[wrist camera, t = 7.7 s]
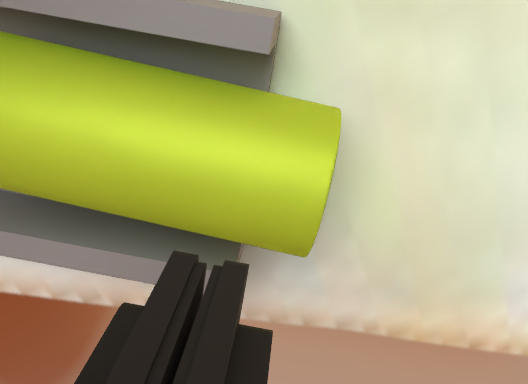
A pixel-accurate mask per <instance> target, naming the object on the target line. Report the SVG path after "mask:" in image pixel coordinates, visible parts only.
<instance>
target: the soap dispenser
mask: <svg viewBox="0 0 528 384" xmlns="http://www.w3.org/2000/svg"><path fill="white" fill-rule="evenodd" d="M340 130H341V111H340V109H339V108H336V107H331V106H327V105H323V104H318V103H314V102H309V101H305V100H301V99H296V98H292V97H287V96H283V95H279V94H274V93H270V92H266V91H261V90H257V89H252V88H248V87H244V86H239V85H235V84H230V83H226V82H222V81H217V80H213V79H208V78H204V77H200V76H195V75H191V74H186V73H182V72H178V71H173V70H169V69H165V68H160V67H156V66H151V65H147V64H143V63H138V62H134V61H129V60H125V59H121V58H116V57H112V56H107V55H103V54H99V53H94V52H90V51H86V50H81V49H77V48H72V47H68V46H64V45H59V44H55V43H50V42H46V41H42V40H37V39H33V38H28V37H24V36H20V35H15V34H11V33H6V32H2V31H0V188H1V189H5V190H10V191H14V192H19V193H23V194H27V195H32V196H36V197H41V198H45V199H49V200H54V201H58V202H63V203H67V204H71V205H76V206H80V207H85V208H89V209H93V210H98V211H102V212H107V213H111V214H115V215H120V216H124V217H129V218H133V219H138V220H142V221H146V222H151V223H155V224H160V225H164V226H168V227H173V228H177V229H182V230H186V231H190V232H195V233H199V234H204V235H208V236H212V237H217V238H221V239H226V240H230V241H234V242H239V243H243V244H248V245H252V246H256V247H261V248H265V249H270V250H274V251H278V252H283V253H287V254H292V255H296V256H300V257H306V256H307V255H308V254H309V252H310V250H311V248H312V245H313V243H314V240H315V238H316V235H317V232H318V229H319V226H320V223H321V219H322V216H323V212H324V209H325V205H326V201H327V197H328V193H329V189H330V185H331V181H332V176H333V171H334V167H335V162H336V156H337V151H338V145H339V138H340Z"/></svg>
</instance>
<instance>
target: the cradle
mask: <svg viewBox="0 0 528 384" xmlns="http://www.w3.org/2000/svg"><path fill="white" fill-rule="evenodd" d="M280 18H281V12H280V11H275V10H269V9H264V8H258V7H252V6H247V5H241V4H236V3H230V2H224V1H219V0H0V31H2V32H6V33H11V34H15V35H20V36H24V37H28V38H33V39H37V40H42V41H46V42H50V43H55V44H59V45H64V46H68V47H72V48H77V49H81V50H86V51H90V52H94V53H99V54H103V55H107V56H112V57H116V58H121V59H125V60H129V61H134V62H138V63H143V64H147V65H151V66H156V67H160V68H165V69H169V70H173V71H178V72H182V73H186V74H191V75H195V76H200V77H204V78H208V79H213V80H217V81H222V82H226V83H230V84H235V85H239V86H244V87H248V88H252V89H257V90H261V91H266V92H269V87H270V81H271V75H272V69H273V63H274V57H275V51H276V45H277V39H278V33H279V27H280V26H279V24H280ZM242 247H243V243H239V242H234V241H230V240H226V239H221V238H217V237H212V236H208V235H204V234H199V233H195V232H190V231H186V230H182V229H177V228H173V227H168V226H164V225H160V224H155V223H151V222H146V221H142V220H138V219H133V218H129V217H124V216H120V215H115V214H111V213H107V212H102V211H98V210H93V209H89V208H85V207H80V206H76V205H71V204H67V203H63V202H58V201H54V200H49V199H45V198H41V197H36V196H32V195H27V194H23V193H19V192H14V191H10V190H5V189H1V188H0V255H1V256H7V257H12V258H17V259H23V260H28V261H33V262H38V263H44V264H49V265H54V266H60V267H65V268H70V269H75V270H81V271H86V272H91V273H97V274H102V275H107V276H112V277H118V278H123V279H128V280H134V281H139V282H144V283H149V284H155V285H156V283H157V281H158V279H159V277H160V275H161V273H162V271H163V269H164V267H165V266H166V264H167V262H168V260H169V258H170V256H171V254H172V252H173V251H174V250H175V251H180V252H186V253H191V254H196V255H199V262H203V263H207V268H206V276H205V283H204V291H203V294H204V292H205V289H206V286H207V283H208V280H209V277H210V274H211V271H212V268H213V266H214V265H219V266H223V264H224V261H225V260H228V261H234V262H239V260H240V256H241V252H242Z"/></svg>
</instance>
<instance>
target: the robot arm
mask: <svg viewBox="0 0 528 384" xmlns="http://www.w3.org/2000/svg"><path fill="white" fill-rule="evenodd" d="M206 268H207V263H203V262H199V255H196V254H191V253H186V252H180V251H175V250H174V251H173V252H172V254H171V256H170V258H169V260H168V262H167V264H166V266H165V267H164V269H163V271H162V273H161V275H160V277H159V279H158V281H157V283H156V285H155V287H154V289H153V291H152V293H151V295H150V296H149V298H148V300H147V302H146V304H145V306H141V305H135V304H130V303H123V304H122V305H121V306H120V307H119V309H118V310H117V312H116V314H115V315H114V317H113V319H112V321H111V322H110V324H109V326H108V327H107V329H106V331H105V332H104V334H103V336H102V337H101V339H100V341H99V343H98V344H97V346H96V348H95V349H94V351H93V353H92V355H91V356H90V358H89V360H88V361H87V363H86V364H85V366H84V368H83V370H82V371H81V373H80V375H79V376H78V378H77V380H76V381H75V383H74V384H267V380H268V371H269V361H270V353H271V344H272V334H273V331H272V330H267V329H262V328H256V327H251V326H246V325H241V324H239V320H240V314H241V309H242V303H243V297H244V291H245V286H246V280H247V274H248V268H249V264H244V263H239V262H234V261H228V260H225V261H224V264H223V266H219V265H214V266H213V268H212V271H211V274H210V277H209V280H208V283H207V286H206V289H205V292H204V294H203V291H204V283H205V276H206Z"/></svg>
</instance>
